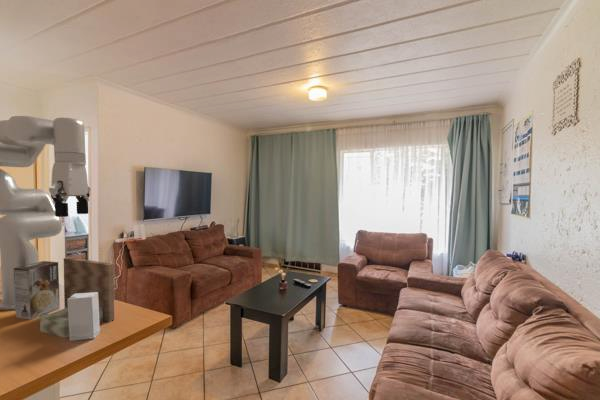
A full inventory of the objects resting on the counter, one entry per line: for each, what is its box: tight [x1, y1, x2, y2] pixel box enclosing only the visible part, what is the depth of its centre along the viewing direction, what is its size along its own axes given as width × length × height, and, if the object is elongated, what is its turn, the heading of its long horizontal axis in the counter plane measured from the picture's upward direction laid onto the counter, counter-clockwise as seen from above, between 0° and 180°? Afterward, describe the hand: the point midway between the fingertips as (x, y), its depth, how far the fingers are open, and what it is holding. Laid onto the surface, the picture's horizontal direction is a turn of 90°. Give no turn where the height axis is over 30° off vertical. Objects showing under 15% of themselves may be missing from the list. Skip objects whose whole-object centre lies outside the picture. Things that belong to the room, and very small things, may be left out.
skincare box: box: [67, 292, 101, 342], centre depth 80 cm, size 6×4×12 cm
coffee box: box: [14, 260, 61, 321], centre depth 94 cm, size 9×6×16 cm
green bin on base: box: [39, 256, 115, 338], centre depth 88 cm, size 20×12×18 cm, turn 72°
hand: (72, 215), depth 89 cm, fingers open, 9 cm apart
